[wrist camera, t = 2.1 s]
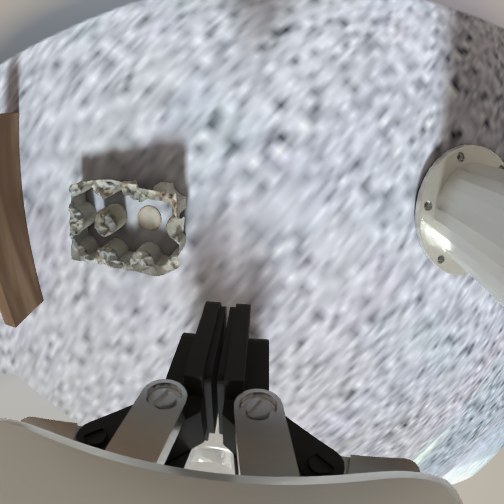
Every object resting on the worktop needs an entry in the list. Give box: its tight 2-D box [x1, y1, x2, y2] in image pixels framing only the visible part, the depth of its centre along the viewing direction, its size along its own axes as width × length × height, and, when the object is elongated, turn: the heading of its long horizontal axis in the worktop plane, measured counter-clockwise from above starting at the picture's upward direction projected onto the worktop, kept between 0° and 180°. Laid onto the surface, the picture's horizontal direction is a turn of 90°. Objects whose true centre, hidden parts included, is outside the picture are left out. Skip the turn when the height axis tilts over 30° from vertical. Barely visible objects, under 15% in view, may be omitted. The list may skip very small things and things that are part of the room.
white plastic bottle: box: [188, 417, 235, 475], centre depth 26 cm, size 7×7×15 cm
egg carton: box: [69, 179, 187, 276], centre depth 24 cm, size 11×8×4 cm
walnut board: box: [0, 112, 43, 327], centre depth 23 cm, size 2×22×6 cm, turn 177°
